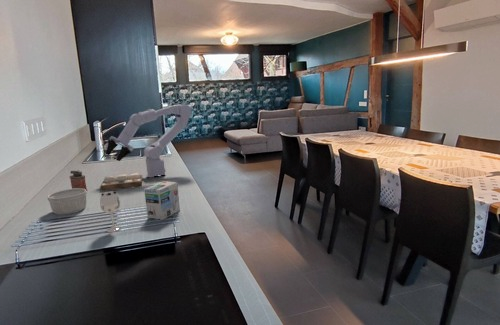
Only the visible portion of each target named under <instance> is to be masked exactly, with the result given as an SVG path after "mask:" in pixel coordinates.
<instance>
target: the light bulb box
mask: <svg viewBox="0 0 500 325" xmlns="http://www.w3.org/2000/svg"><path fill="white" fill-rule="evenodd" d="M143 190H144V198H145V206H146V207H145V208H146V216H147V219H150V218H155V219H154V220H158V219H160V220H161V221H164V220H166V219H168V218H169V217H171V216H172V214H173V215H174V213H175V214H176V213H178V212H180V211H181V209H180V208H181V206H180V205H181V204H180V197H179V186H178V182H175V181H165V180H164V181H161V182H158V183H155V184H152V185H150V186H148V187H145V188H143ZM170 215H171V216H170ZM168 216H169V217H168ZM163 219H164V220H163Z"/></svg>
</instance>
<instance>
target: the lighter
mask: <svg viewBox="0 0 500 325" xmlns="http://www.w3.org/2000/svg"><path fill="white" fill-rule="evenodd" d="M69 180H70V185H71V189H74V188H82V189H86V191H87V192H88V189H87V182H86V175H85V174H84V175H83V172H82V171H80V170H70V175H69Z"/></svg>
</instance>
